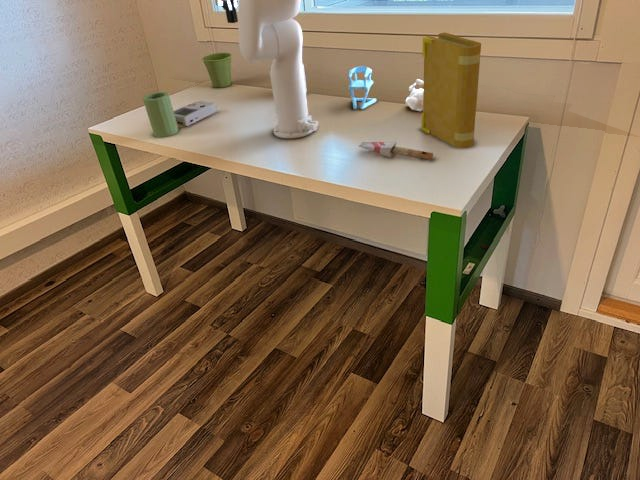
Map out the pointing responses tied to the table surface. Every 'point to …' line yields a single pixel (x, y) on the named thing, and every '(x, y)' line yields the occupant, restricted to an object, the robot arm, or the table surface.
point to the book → (450, 88)
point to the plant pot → (219, 68)
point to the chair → (361, 86)
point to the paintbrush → (394, 150)
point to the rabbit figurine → (416, 96)
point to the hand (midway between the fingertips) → (232, 22)
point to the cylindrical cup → (160, 114)
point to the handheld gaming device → (194, 112)
